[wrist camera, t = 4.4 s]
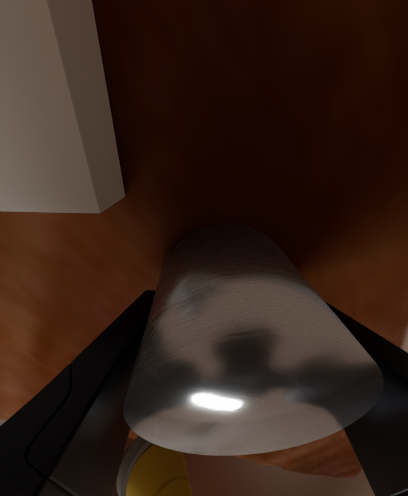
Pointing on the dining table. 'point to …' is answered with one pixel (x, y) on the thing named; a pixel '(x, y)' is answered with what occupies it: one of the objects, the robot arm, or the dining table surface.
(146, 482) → the yellow spiral cone
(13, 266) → the dining table surface
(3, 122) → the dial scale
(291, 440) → the silver flared knob
